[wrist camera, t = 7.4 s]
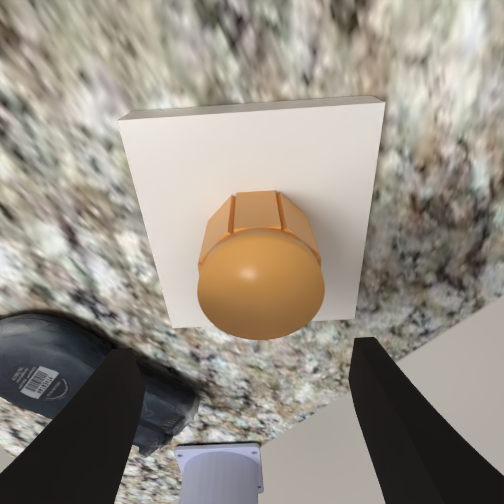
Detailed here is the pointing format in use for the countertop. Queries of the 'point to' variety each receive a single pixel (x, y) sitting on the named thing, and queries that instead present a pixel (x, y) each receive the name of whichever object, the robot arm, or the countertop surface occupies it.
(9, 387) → the electronic device
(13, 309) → the countertop surface
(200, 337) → the countertop surface
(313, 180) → the white base plate
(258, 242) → the orange acorn nut
